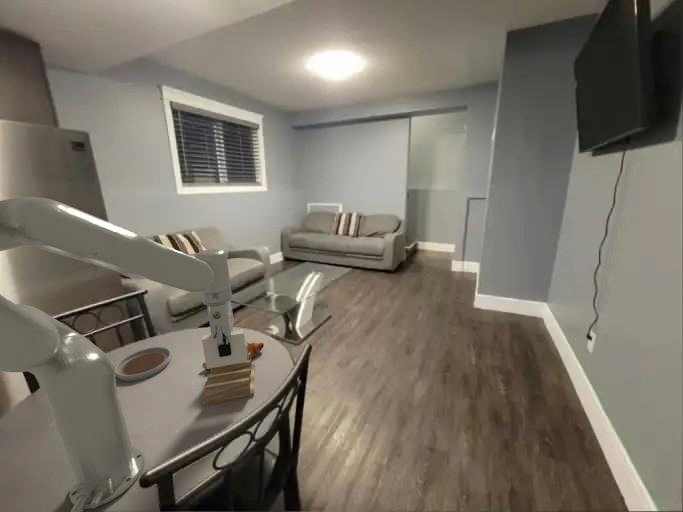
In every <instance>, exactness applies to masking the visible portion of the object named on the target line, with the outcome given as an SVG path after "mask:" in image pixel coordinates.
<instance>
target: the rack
mask: <svg viewBox="0 0 683 512" xmlns="http://www.w3.org/2000/svg"><path fill="white" fill-rule="evenodd" d="M245 342H246V341H245ZM247 343H248V341H247V342H246V350H247V362H243V363H237V364H232V365H226V366H220V367H215V368H210V369H209V371H210V374H209V375H207V377H206V378H207V384H206V385H205V386H204V392H205V394H204V397H203V401H202V405H203V406H208V405H212V404H219V403H224V402H227V401H233V399H234V400H238V399H237V398H239V399H243V398H242V397H244V398H248V397H247V396H249V397H252V396H251V395H254V396H255V384H254V380H255V379H256V377H255V375H256V374H255V371H256V364H255V362H252V358H251V353H250V352H249V353H248V345H247Z"/></svg>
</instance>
